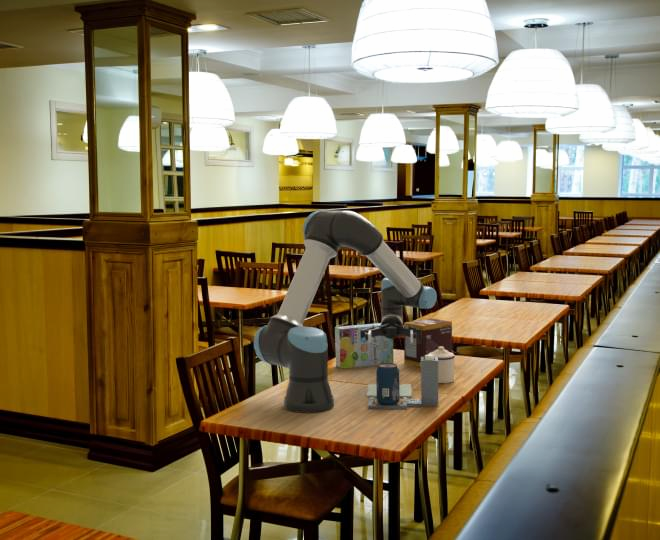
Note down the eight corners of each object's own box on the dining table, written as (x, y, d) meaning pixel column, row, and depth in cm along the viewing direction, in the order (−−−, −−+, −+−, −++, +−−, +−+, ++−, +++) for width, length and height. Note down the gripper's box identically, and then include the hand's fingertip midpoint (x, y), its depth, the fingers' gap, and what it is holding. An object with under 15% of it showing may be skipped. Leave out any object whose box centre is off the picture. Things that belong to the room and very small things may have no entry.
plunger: (425, 374, 230) (424, 354, 230) (433, 374, 230) (433, 354, 229) (425, 376, 228) (425, 356, 227) (433, 376, 227) (433, 356, 227)
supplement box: (452, 361, 286) (452, 320, 284) (423, 368, 277) (422, 325, 275) (433, 357, 294) (432, 317, 292) (403, 363, 285) (403, 322, 283)
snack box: (388, 361, 289) (387, 322, 287) (393, 364, 284) (393, 324, 282) (335, 366, 282) (334, 326, 281) (340, 369, 277) (339, 328, 276)
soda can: (379, 400, 235) (379, 362, 234) (401, 401, 233) (401, 363, 232) (374, 406, 229) (373, 367, 228) (397, 407, 227) (396, 368, 226)
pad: (368, 385, 253) (368, 384, 253) (411, 386, 251) (411, 384, 251) (366, 397, 239) (366, 395, 239) (411, 397, 237) (411, 395, 237)
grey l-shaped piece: (370, 400, 235) (369, 355, 234) (437, 401, 233) (437, 356, 232) (368, 408, 226) (367, 362, 225) (438, 409, 224) (438, 363, 222)
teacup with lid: (458, 379, 260) (458, 345, 258) (449, 385, 252) (449, 350, 250) (425, 375, 265) (425, 342, 264) (415, 381, 257) (415, 347, 256)
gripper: (427, 336, 264) (429, 349, 243) (356, 336, 266) (351, 350, 245) (427, 315, 263) (429, 326, 242) (355, 315, 266) (351, 327, 245)
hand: (390, 338), depth 244 cm, fingers open, 13 cm apart
